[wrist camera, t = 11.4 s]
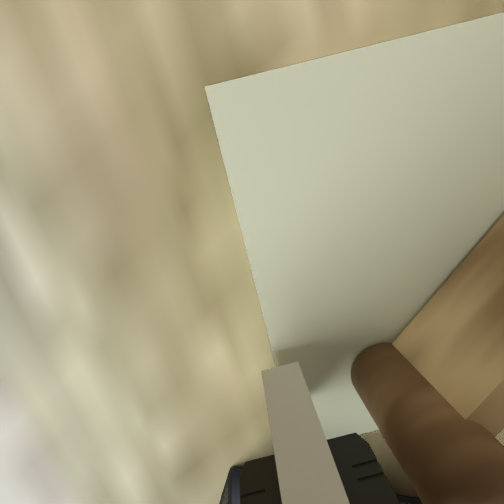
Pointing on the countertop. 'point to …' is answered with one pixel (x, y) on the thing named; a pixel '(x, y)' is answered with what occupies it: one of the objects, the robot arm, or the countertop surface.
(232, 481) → the small box
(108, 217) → the countertop surface
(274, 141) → the card
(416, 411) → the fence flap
